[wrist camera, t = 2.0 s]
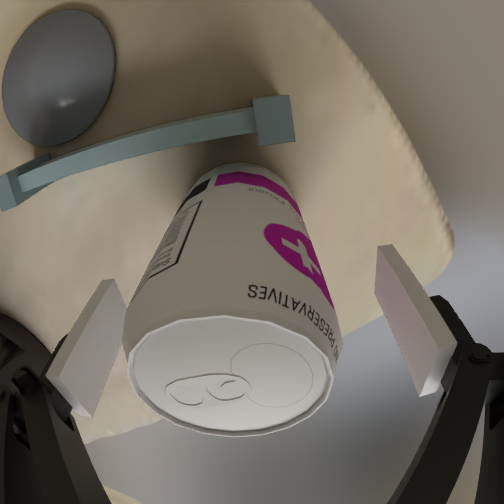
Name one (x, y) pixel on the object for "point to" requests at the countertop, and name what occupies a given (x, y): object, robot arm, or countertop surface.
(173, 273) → the supplement can
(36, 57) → the coaster
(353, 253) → the countertop surface
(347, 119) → the countertop surface
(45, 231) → the countertop surface
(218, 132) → the handle
